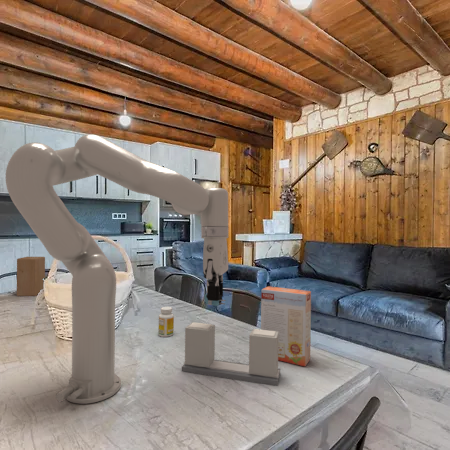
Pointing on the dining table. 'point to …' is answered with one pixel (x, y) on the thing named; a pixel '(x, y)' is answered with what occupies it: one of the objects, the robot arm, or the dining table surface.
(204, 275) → the push button
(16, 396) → the dining table surface
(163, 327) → the supplement bottle
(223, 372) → the board
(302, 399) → the dining table surface
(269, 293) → the cracker box
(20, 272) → the wooden block
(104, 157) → the robot arm
